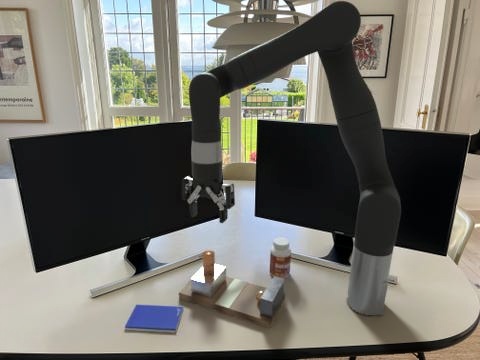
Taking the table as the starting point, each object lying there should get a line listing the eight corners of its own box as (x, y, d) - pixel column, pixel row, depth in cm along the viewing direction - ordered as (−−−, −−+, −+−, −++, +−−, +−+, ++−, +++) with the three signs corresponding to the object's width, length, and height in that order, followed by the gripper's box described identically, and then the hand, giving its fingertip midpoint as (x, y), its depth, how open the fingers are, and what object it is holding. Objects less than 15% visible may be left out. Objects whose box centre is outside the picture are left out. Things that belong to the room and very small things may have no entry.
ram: (226, 279, 97) (226, 248, 94) (210, 297, 89) (210, 264, 86) (207, 273, 99) (207, 243, 96) (191, 291, 91) (190, 258, 88)
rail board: (284, 299, 92) (285, 292, 92) (269, 328, 82) (270, 321, 81) (201, 275, 102) (201, 269, 102) (179, 298, 92) (178, 292, 91)
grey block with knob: (283, 295, 91) (284, 279, 89) (271, 318, 82) (272, 301, 81) (262, 289, 93) (263, 273, 92) (248, 311, 85) (249, 294, 83)
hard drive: (183, 305, 88) (136, 303, 89) (175, 329, 80) (124, 326, 81) (183, 310, 88) (137, 308, 89) (176, 334, 81) (125, 331, 81)
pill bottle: (273, 281, 100) (275, 247, 97) (266, 269, 106) (267, 237, 102) (293, 277, 102) (295, 244, 98) (284, 266, 108) (286, 235, 104)
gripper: (239, 158, 83) (239, 218, 88) (190, 151, 89) (192, 208, 94) (225, 165, 77) (225, 230, 82) (173, 158, 83) (176, 219, 88)
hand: (208, 218), depth 88 cm, fingers open, 8 cm apart
